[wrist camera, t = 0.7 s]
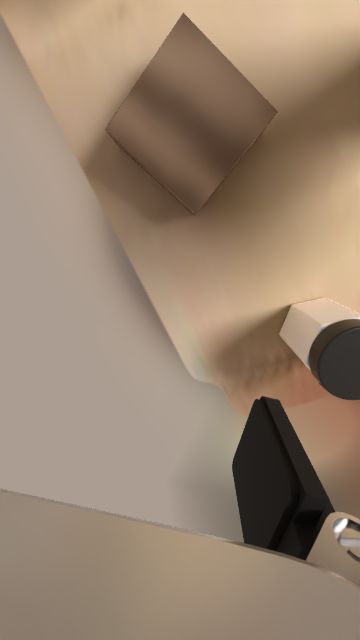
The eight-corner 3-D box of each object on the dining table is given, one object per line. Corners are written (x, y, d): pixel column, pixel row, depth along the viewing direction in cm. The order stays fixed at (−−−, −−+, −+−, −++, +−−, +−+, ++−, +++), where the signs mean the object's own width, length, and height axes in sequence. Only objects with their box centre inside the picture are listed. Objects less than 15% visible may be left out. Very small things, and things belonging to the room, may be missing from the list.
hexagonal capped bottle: (282, 360, 42) (318, 409, 30) (274, 306, 39) (309, 337, 28) (346, 347, 41) (408, 392, 29) (342, 292, 39) (406, 316, 27)
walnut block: (184, 52, 32) (183, 12, 26) (262, 132, 34) (277, 111, 28) (119, 146, 35) (105, 129, 29) (194, 215, 37) (195, 212, 31)
